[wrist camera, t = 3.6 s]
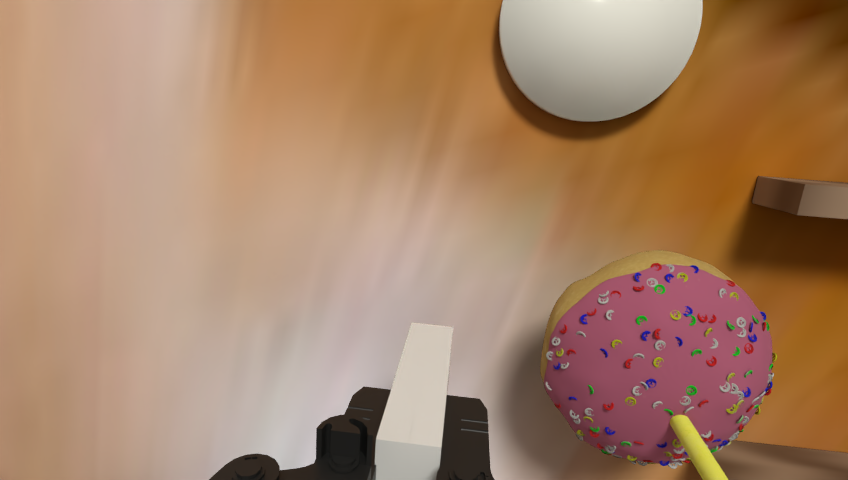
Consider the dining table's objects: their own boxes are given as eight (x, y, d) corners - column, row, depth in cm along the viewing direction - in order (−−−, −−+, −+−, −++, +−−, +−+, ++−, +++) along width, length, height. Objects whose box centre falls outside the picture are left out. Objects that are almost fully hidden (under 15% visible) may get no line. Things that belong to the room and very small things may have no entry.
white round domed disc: (489, 115, 21) (490, 114, 21) (509, -87, 19) (511, -96, 19) (672, 127, 21) (680, 127, 20) (711, -78, 19) (722, -87, 18)
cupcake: (718, 379, 23) (967, 629, 12) (544, 408, 25) (616, 663, 13) (695, 211, 22) (963, 310, 10) (510, 252, 23) (556, 383, 11)
